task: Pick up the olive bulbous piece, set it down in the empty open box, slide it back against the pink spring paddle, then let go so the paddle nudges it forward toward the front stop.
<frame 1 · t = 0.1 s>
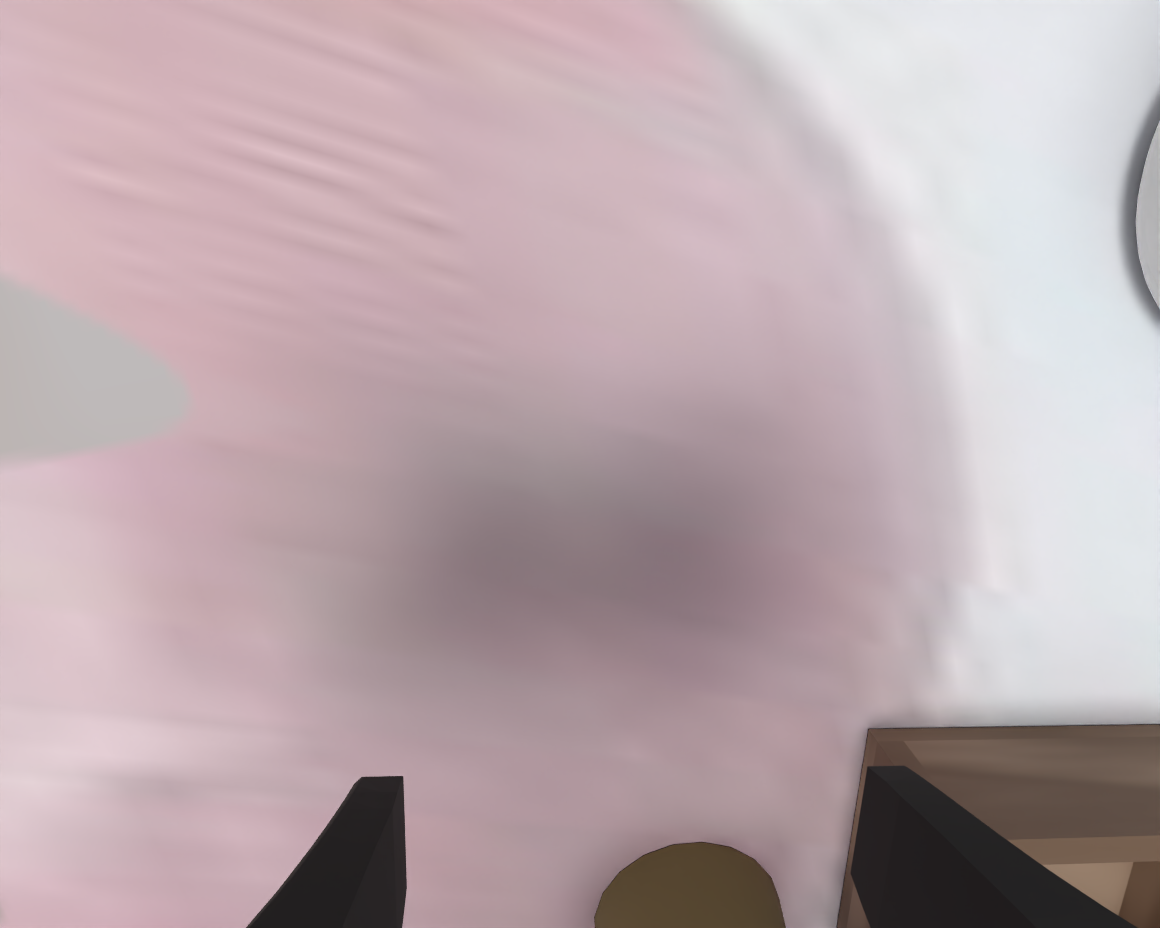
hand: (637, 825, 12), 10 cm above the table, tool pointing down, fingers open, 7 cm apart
open box: (982, 921, 27), on the table
olive bulbous piece: (686, 914, 26), on the table
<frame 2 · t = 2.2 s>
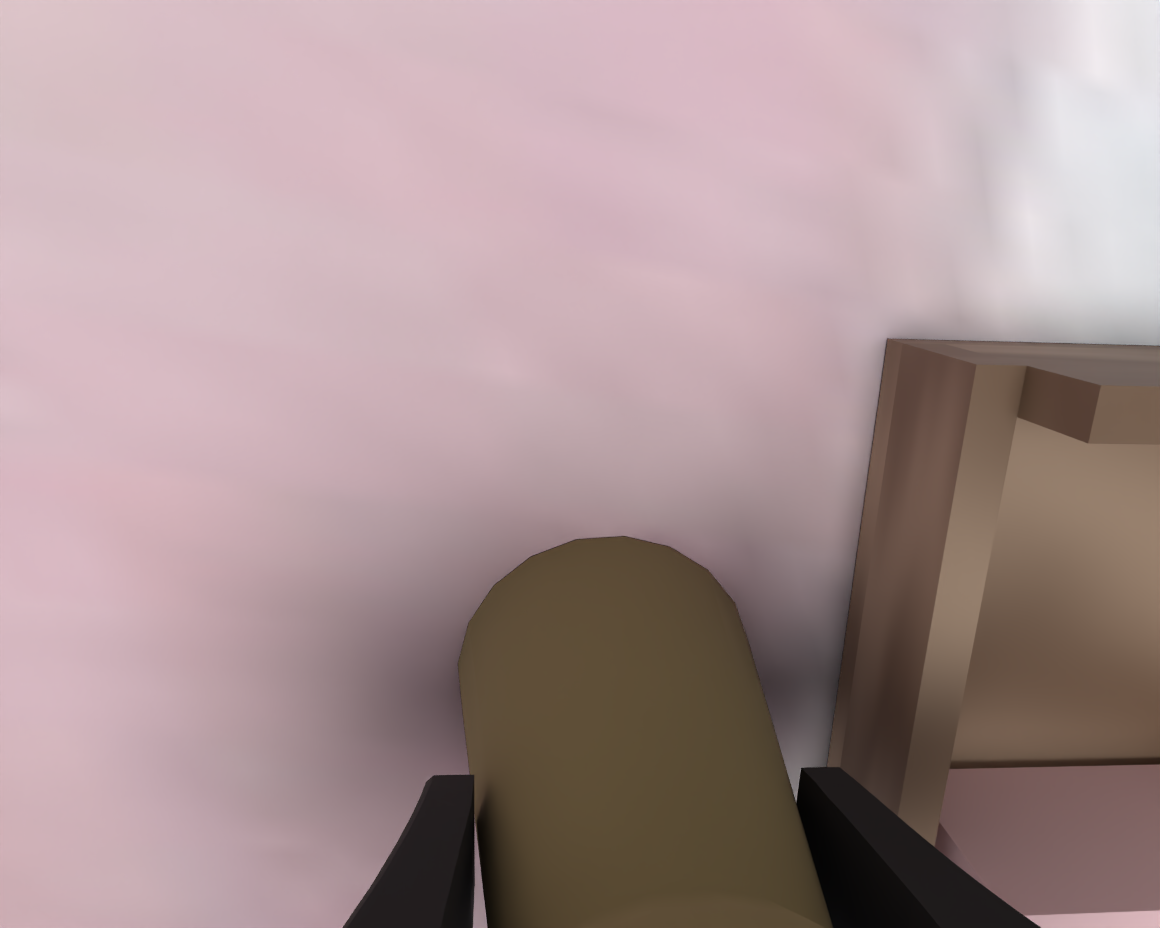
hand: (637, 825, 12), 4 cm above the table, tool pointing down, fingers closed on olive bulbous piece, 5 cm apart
open box: (1059, 689, 17), on the table
olive bulbous piece: (604, 667, 17), on the table, touching gripper
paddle: (1133, 850, 15), point 3 cm above the table, slide at 0.0 cm
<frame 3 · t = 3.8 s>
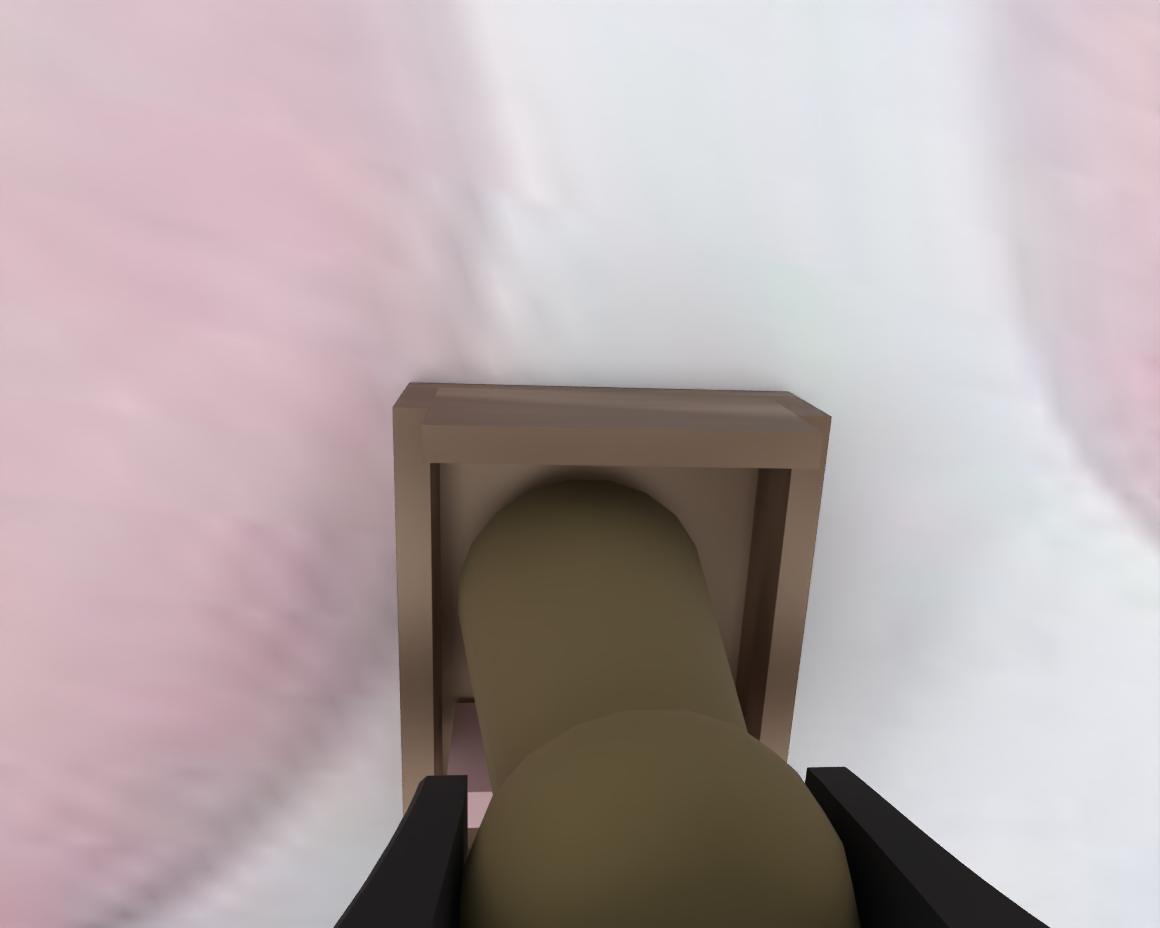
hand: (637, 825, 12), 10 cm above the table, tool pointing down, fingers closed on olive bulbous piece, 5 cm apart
open box: (590, 644, 23), on the table
olive bulbous piece: (581, 592, 20), point 3 cm above the table, touching gripper
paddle: (597, 758, 21), point 3 cm above the table, slide at 0.0 cm
when the fingers open (5 cm above the table, at t = 7.2 s): olive bulbous piece drops 1 cm, resting on open box.
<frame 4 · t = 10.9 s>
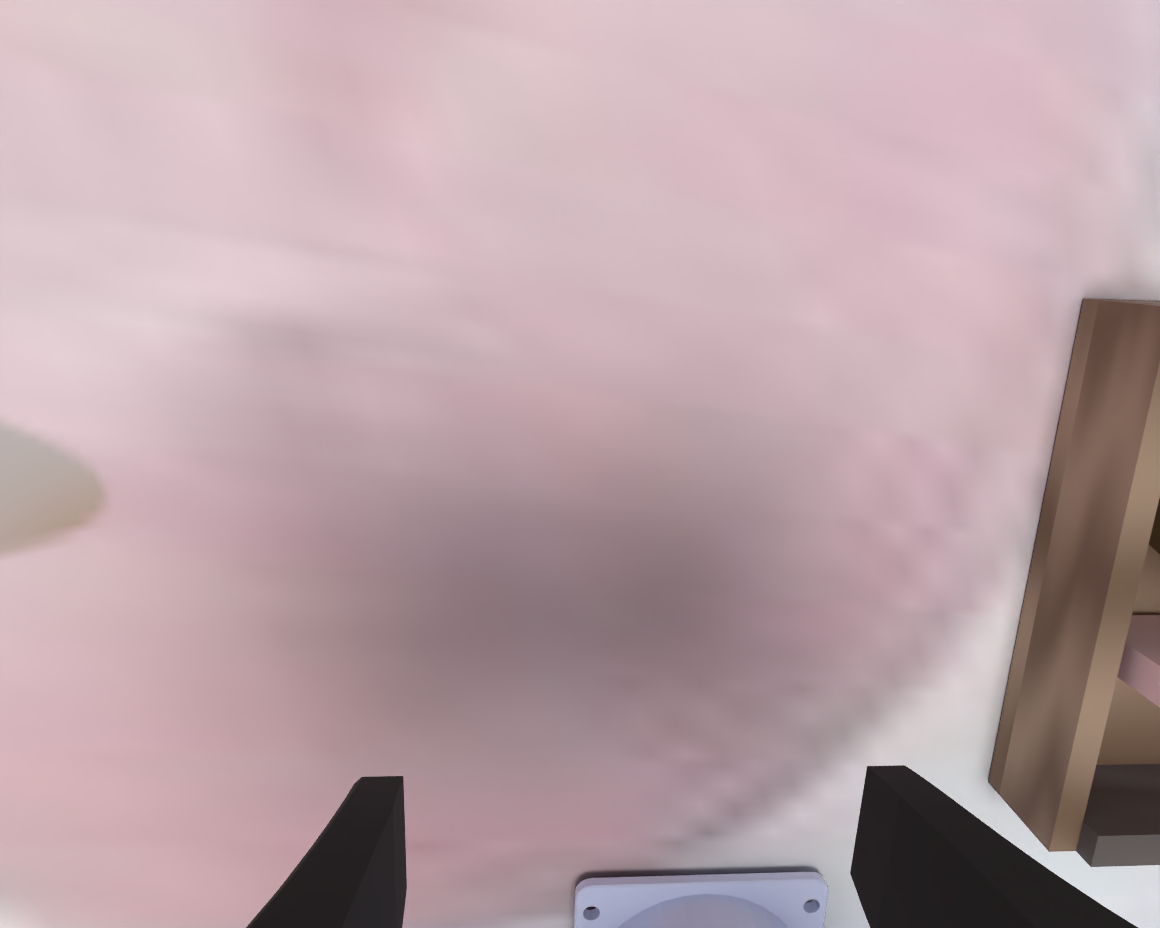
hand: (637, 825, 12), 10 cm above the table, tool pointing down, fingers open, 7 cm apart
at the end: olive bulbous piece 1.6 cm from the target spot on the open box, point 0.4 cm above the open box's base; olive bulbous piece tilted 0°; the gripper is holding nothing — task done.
